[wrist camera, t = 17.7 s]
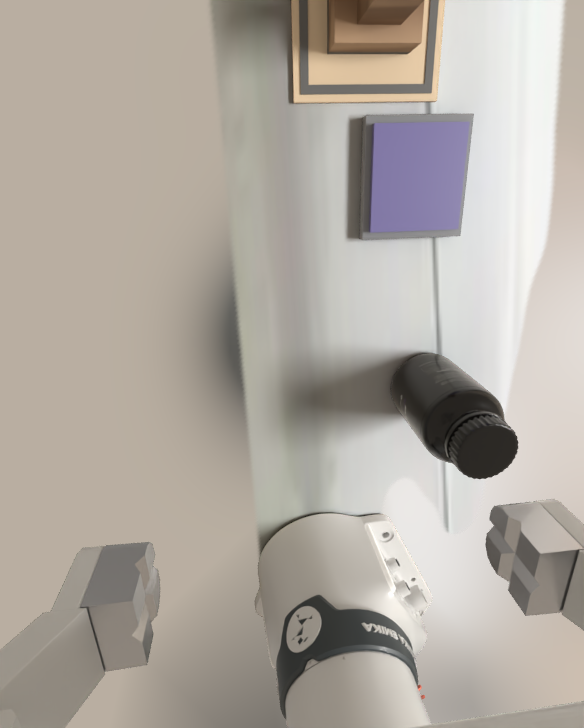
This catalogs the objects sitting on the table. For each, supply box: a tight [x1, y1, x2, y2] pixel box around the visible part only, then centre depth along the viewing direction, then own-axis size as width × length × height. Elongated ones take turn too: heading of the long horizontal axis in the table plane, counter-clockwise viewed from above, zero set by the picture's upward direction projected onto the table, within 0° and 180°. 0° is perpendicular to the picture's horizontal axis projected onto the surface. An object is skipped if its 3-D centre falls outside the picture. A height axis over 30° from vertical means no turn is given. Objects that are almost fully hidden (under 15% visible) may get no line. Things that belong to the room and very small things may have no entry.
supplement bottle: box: [391, 353, 518, 479], centre depth 37 cm, size 7×7×12 cm
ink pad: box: [359, 114, 474, 240], centre depth 35 cm, size 9×8×2 cm
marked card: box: [291, 0, 445, 103], centre depth 31 cm, size 11×11×1 cm
